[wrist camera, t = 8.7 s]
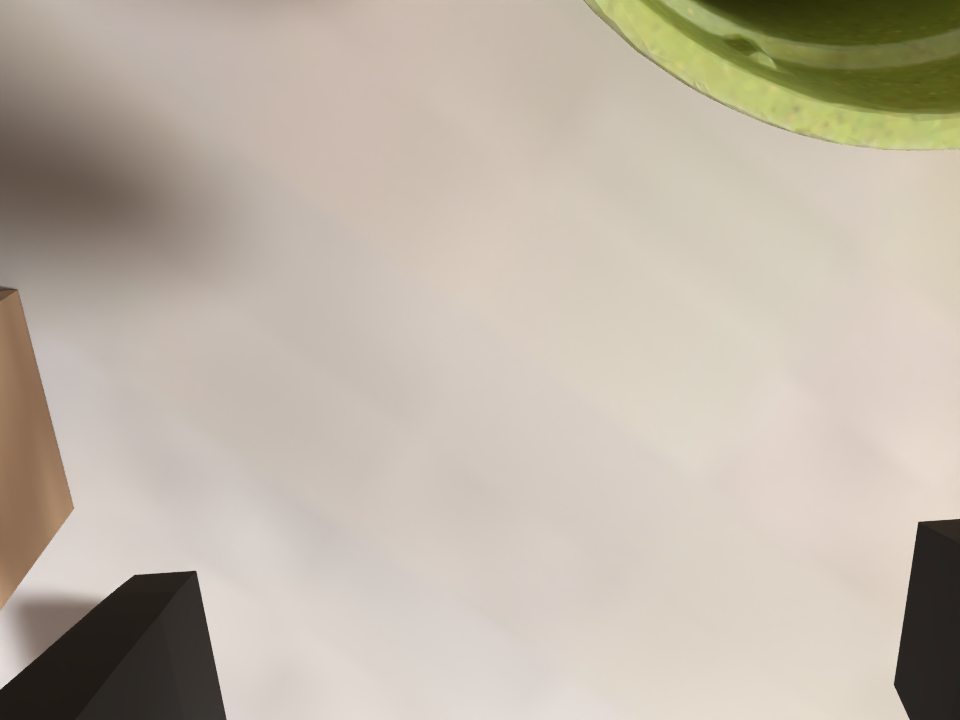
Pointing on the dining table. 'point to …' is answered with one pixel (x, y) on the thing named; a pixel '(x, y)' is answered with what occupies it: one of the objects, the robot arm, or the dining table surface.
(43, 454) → the tethered block
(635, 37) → the plant pot
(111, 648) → the robot arm
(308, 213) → the dining table surface
